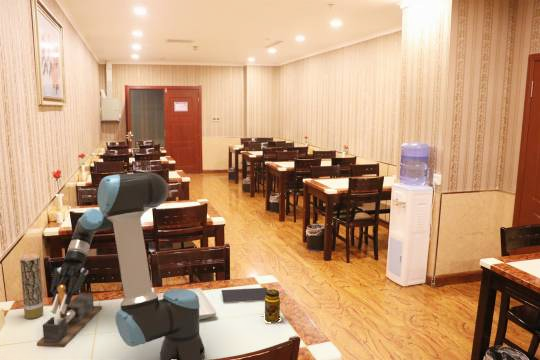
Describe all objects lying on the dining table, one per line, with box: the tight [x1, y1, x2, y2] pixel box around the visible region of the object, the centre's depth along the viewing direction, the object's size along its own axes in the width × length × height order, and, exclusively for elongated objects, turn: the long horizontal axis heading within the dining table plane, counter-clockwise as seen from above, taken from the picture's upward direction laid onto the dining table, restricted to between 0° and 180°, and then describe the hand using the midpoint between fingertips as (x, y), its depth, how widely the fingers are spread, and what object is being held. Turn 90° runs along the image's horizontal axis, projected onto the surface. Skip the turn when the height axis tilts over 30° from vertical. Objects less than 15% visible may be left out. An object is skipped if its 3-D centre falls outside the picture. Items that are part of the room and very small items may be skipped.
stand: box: [36, 292, 103, 348], centre depth 172 cm, size 30×10×8 cm, turn 176°
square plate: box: [155, 287, 217, 320], centre depth 186 cm, size 27×27×4 cm
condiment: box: [261, 289, 284, 324], centre depth 180 cm, size 7×8×12 cm
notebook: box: [221, 287, 269, 304], centre depth 202 cm, size 13×2×21 cm
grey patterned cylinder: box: [19, 253, 44, 320], centre depth 178 cm, size 7×7×25 cm
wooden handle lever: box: [57, 284, 77, 324], centre depth 172 cm, size 18×3×16 cm, turn 176°
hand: (57, 312), depth 161 cm, fingers closed on wooden handle lever, 2 cm apart
